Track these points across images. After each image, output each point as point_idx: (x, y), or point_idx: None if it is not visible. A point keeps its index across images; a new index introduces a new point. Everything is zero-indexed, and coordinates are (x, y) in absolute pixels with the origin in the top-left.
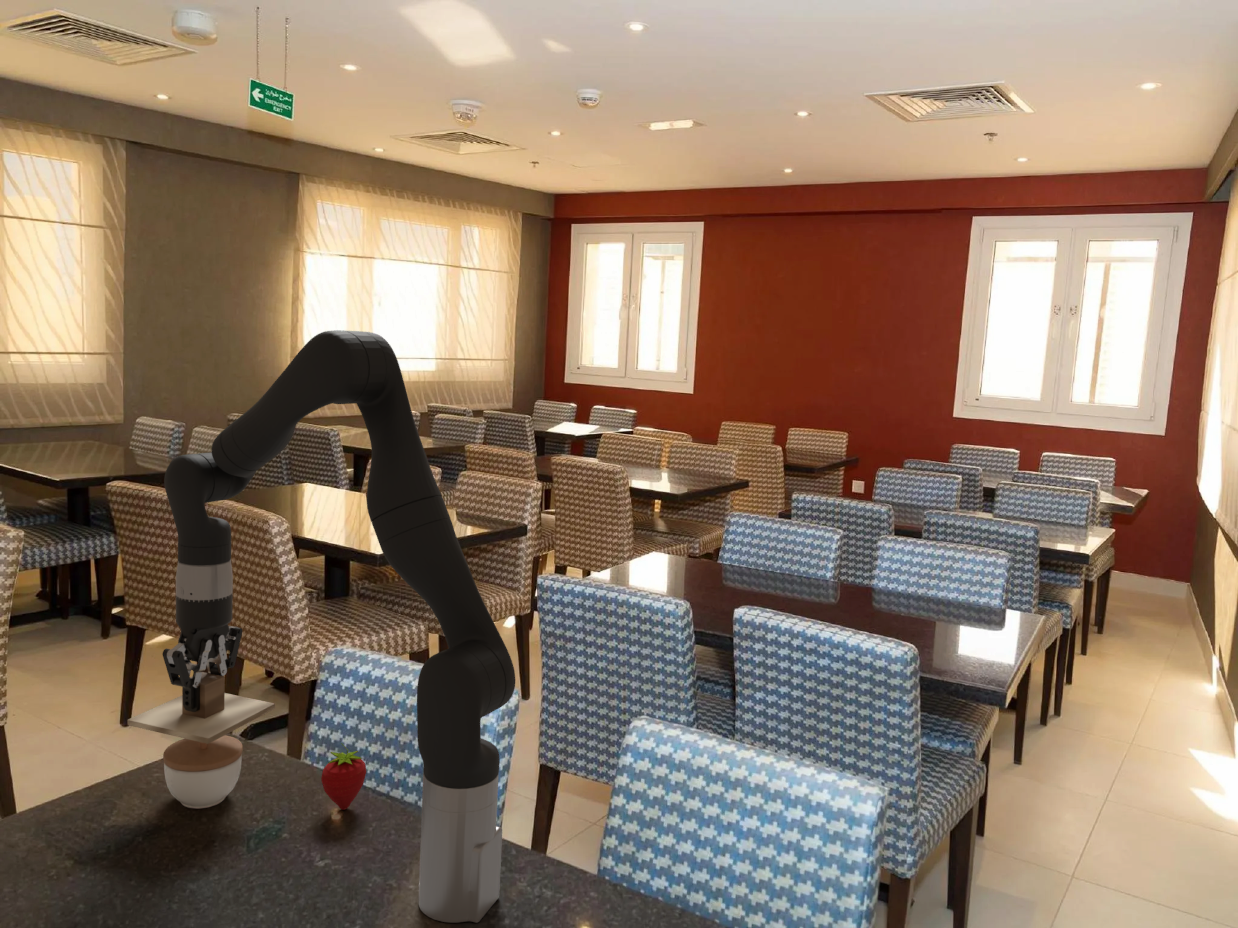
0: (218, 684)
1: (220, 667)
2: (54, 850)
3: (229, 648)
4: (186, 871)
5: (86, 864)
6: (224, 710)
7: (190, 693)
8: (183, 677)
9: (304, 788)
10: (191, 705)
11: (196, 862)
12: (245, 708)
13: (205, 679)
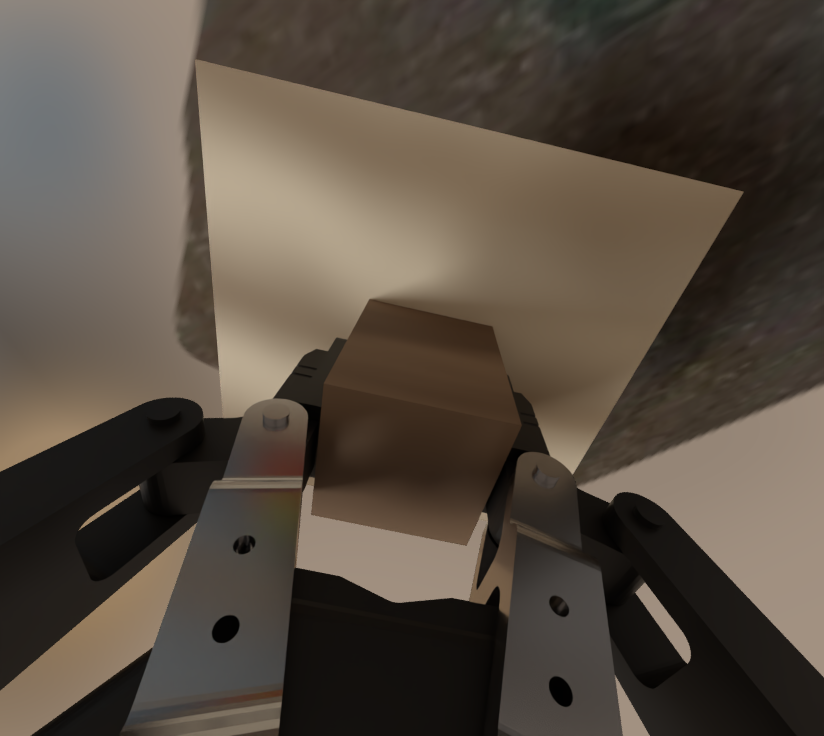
0: (390, 376)
1: (300, 455)
2: (648, 409)
3: (50, 554)
4: (780, 117)
5: (706, 340)
6: (384, 290)
7: (545, 452)
8: (726, 585)
9: (308, 11)
10: (528, 405)
11: (736, 115)
12: (327, 203)
13: (414, 461)
